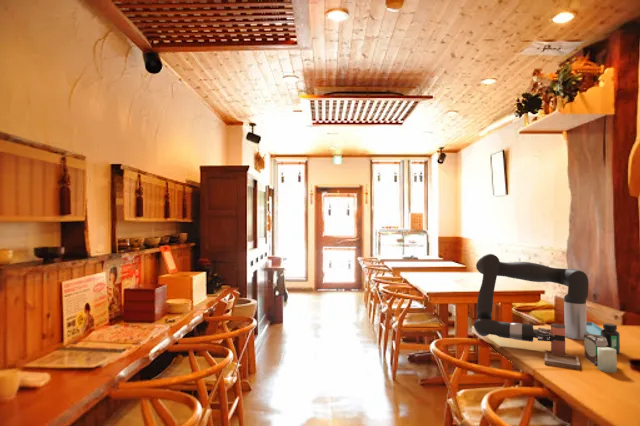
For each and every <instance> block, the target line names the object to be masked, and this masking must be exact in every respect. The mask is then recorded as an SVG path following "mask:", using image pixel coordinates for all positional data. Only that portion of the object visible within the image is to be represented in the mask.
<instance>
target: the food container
mask: <svg viewBox="0 0 640 426" xmlns="http://www.w3.org/2000/svg"><path fill="white" fill-rule="evenodd" d="M583 338H584V339H583V346H584V347H583V348H584V359H586V360H587V361H589V362H590V363H591V364H593V365H594V366H597V367H598V354H597V347H606V346H607V345H608V342H607V340H606V338H605V337H602V336H599V335H595V334H588V333H584V335H583Z"/></svg>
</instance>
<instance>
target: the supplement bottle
mask: <svg viewBox="0 0 640 426" xmlns="http://www.w3.org/2000/svg"><path fill="white" fill-rule="evenodd" d="M602 325H603V326H602V329H603V330H601V336H602V337H605V338H606V340H607V342H608V345H607V346H606V347H609V348H613V349H616V355H619V354H620V353H621V337H620V336H621V333H620V332H619V331H618V326H617V324H615V323H611V322H610V323H609V322H604V323H603V324H602Z"/></svg>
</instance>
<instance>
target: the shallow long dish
mask: <svg viewBox="0 0 640 426" xmlns="http://www.w3.org/2000/svg"><path fill="white" fill-rule="evenodd" d="M586 326H587V333H588V334H595V335H599V336H601V330H603V329H604V328H601V327H600V326H598V325H597V324H596V323H594V322H592V321H586Z"/></svg>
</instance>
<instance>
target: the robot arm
mask: <svg viewBox="0 0 640 426" xmlns="http://www.w3.org/2000/svg"><path fill="white" fill-rule="evenodd" d="M475 267H476V270H477V272H478V273H480V274H482V281H481V284H480V289H479V291H478V295H477V301H476V320H475V321H474V323H473V328H474V330H475V331H476V333H477V335H479V336H481V337H487V336H489V335H492V336H497V337H498V338H503V339H510V340H511V339H512V340H516V341H522V342H523V341H524V342H530V343H533V342H534V339H537V341H539V342H540V341H541V342H550V343H551V342H553V341H555V340H556V341H565V342H566V338H568V339H573V340H583V341H584V338H583V335H584V333H587V326H586V322H587V299H588V297H589V278H588V275H587V273H585V272H584V271H582V270H578V269H575V268H574V269H573V268H556V267H550V266H547V265H544V264H541V263H536V262H530V261H529V262H528V261H510V262H505V261H504V262H503V261H500V259H499V256H497V255H496V254H493V253H488V254H485V255H483V256H482V257H480V259H478V260H477V262H476V264H475ZM498 277H506V278H510V279H515V280H523V281H527V282H532V283H533V282H534V283H535V282H536V283H554V284H559V285H562V286H566V287H568V288H567V289H568V290H567V294H565V295H564V297H563V304H564V305H563V307H564V308H563V310H564V312H563V313H564V316H563V317H564V319H563V320H564V325H565V336H561V335H554V334H551V328H542V327H538V329H536V328H534V325H533V324H531V323H522V322H507V321H498V320H493V319H492V317H493V316H492V315H493V314H492V313H493V309H494V307H493V306H494V294H495V287H496V282H497V278H498Z"/></svg>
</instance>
